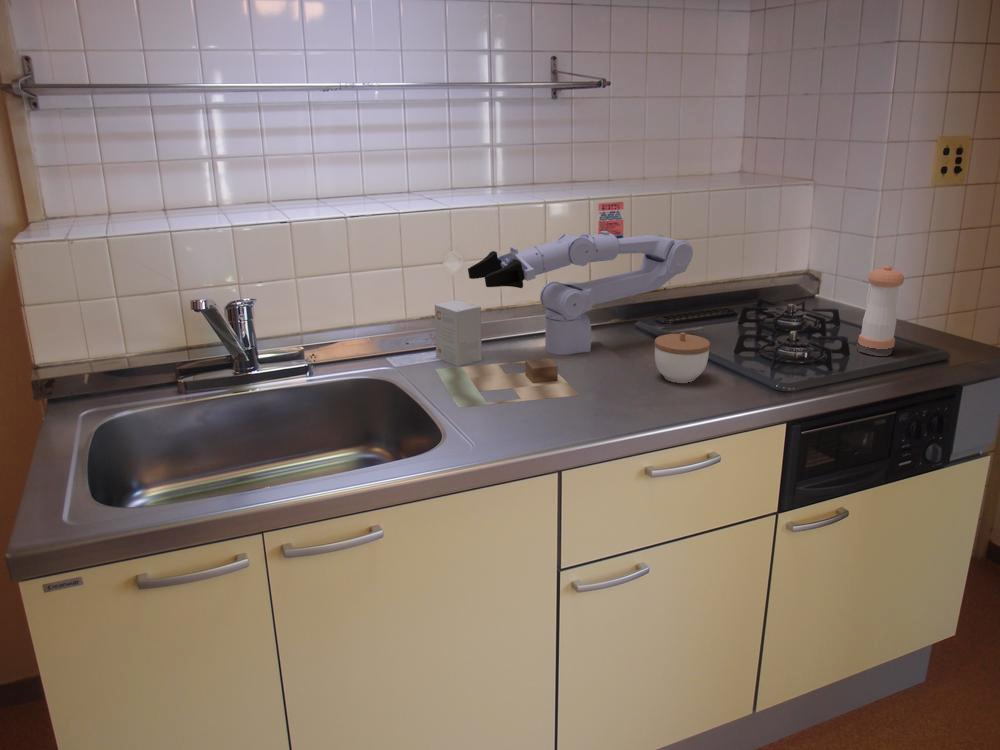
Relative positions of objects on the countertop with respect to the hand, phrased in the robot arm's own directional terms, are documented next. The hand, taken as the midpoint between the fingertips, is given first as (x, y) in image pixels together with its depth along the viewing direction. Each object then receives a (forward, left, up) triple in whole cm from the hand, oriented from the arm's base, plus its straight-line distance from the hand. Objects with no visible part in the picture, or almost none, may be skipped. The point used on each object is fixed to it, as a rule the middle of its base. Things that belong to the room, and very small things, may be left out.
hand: (477, 277), depth 163 cm
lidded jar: (-38, +16, -20) cm, 45 cm away
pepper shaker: (-87, +12, -20) cm, 90 cm away
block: (-10, +12, -18) cm, 24 cm away
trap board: (-2, +12, -19) cm, 23 cm away
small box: (+3, -4, -20) cm, 20 cm away
